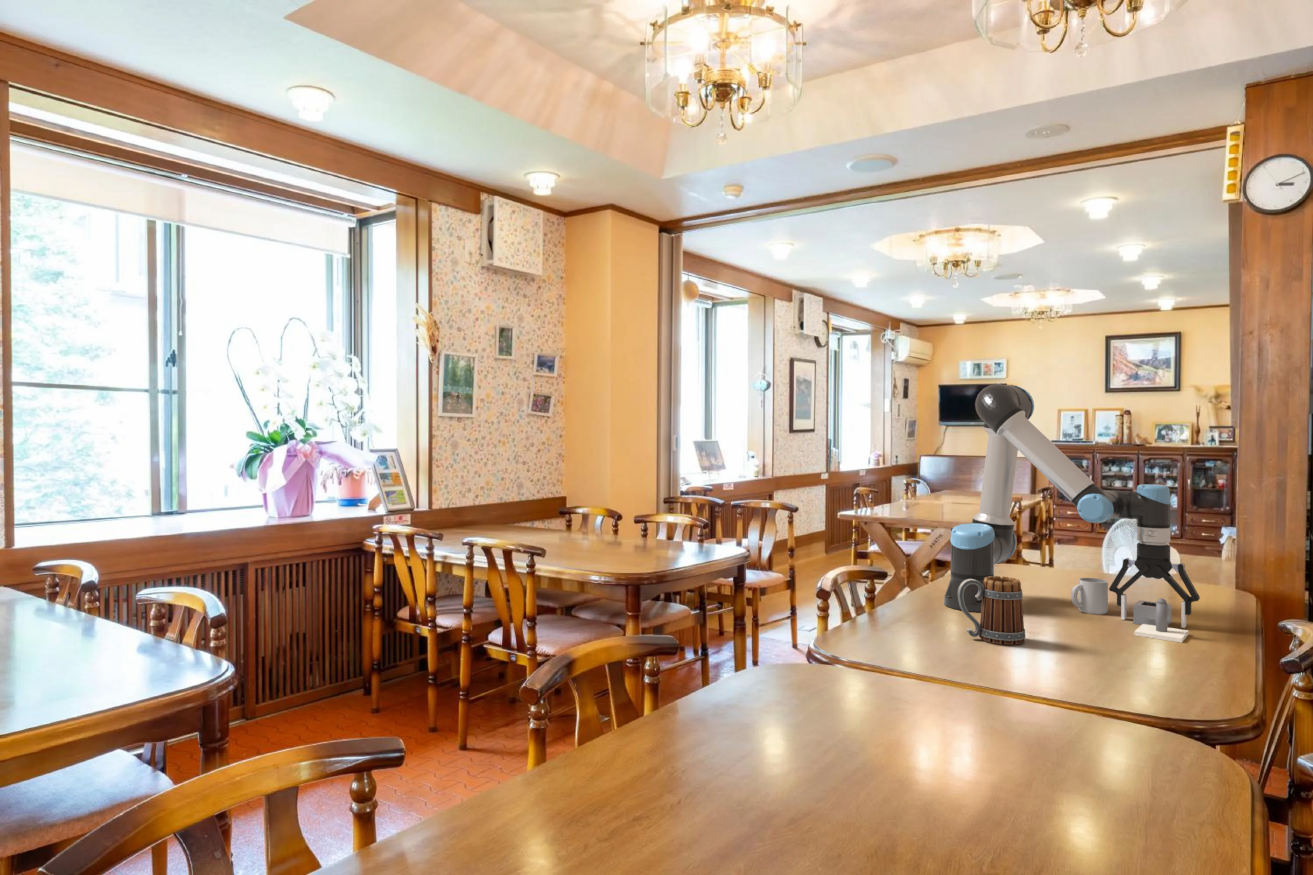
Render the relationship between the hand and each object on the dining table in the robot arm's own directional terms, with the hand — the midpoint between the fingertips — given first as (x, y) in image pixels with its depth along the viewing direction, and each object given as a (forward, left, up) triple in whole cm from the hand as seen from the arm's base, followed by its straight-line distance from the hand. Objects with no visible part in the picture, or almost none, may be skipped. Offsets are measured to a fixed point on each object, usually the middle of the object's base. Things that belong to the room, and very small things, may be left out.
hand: (1153, 622), depth 210 cm
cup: (-16, +3, 0) cm, 16 cm away
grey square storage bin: (0, 0, 0) cm, 0 cm away
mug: (-27, -45, 0) cm, 52 cm away
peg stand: (+4, -12, 0) cm, 13 cm away
